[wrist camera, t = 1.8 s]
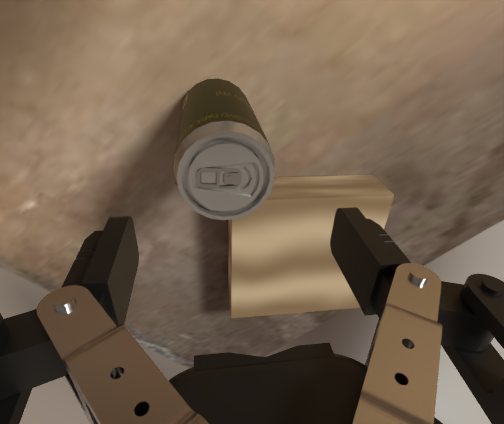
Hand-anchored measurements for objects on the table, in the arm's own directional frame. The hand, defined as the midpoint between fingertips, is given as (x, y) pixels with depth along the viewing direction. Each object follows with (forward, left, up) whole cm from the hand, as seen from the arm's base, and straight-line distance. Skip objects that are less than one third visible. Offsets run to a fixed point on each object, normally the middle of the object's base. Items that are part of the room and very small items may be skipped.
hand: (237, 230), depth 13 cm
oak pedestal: (+13, +8, -16) cm, 22 cm away
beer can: (0, 0, -17) cm, 17 cm away
